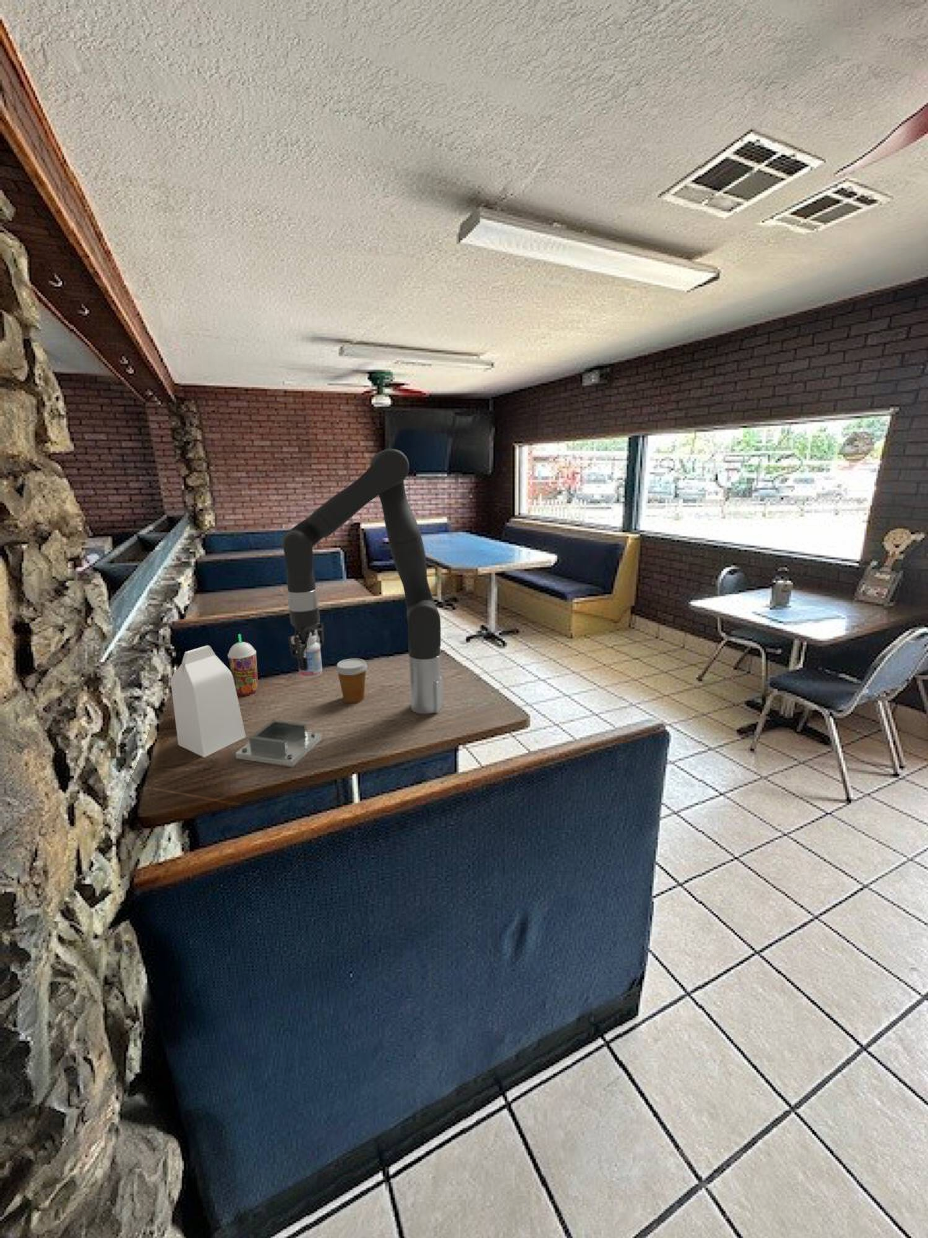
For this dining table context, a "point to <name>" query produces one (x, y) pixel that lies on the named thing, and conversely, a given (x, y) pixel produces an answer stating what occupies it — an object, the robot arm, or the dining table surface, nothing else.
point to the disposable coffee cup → (352, 679)
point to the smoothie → (243, 667)
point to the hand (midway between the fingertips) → (310, 665)
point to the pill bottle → (312, 660)
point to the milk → (205, 703)
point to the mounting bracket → (279, 743)
